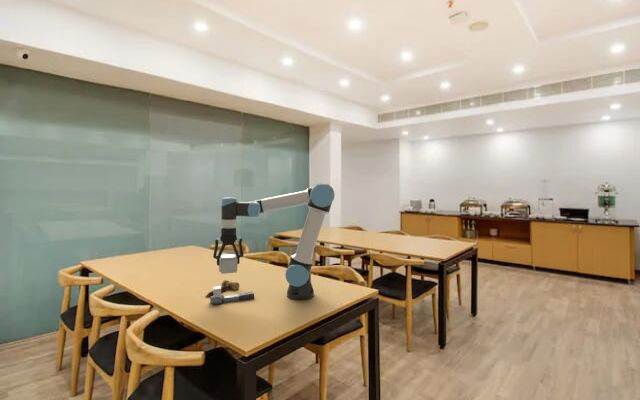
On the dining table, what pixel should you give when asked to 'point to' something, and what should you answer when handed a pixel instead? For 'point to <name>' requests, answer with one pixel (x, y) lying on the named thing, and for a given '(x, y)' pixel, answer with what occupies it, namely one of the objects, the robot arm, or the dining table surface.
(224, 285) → the gavel
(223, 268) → the brushed metal cube
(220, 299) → the ratchet
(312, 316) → the dining table surface
